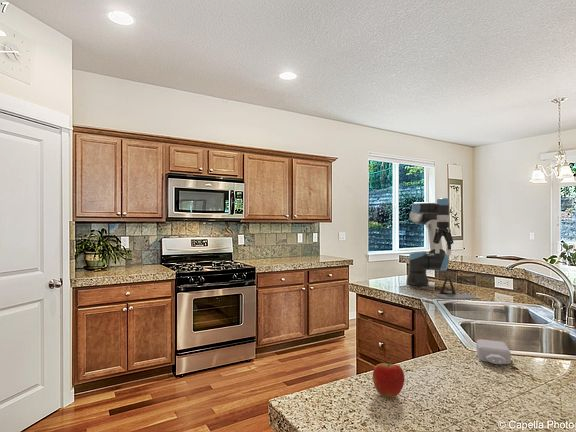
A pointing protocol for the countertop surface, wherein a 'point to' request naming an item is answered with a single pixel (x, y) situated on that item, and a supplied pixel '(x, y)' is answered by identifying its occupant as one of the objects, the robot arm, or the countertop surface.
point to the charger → (493, 351)
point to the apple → (388, 379)
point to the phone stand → (450, 284)
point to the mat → (455, 296)
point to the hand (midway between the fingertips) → (442, 254)
